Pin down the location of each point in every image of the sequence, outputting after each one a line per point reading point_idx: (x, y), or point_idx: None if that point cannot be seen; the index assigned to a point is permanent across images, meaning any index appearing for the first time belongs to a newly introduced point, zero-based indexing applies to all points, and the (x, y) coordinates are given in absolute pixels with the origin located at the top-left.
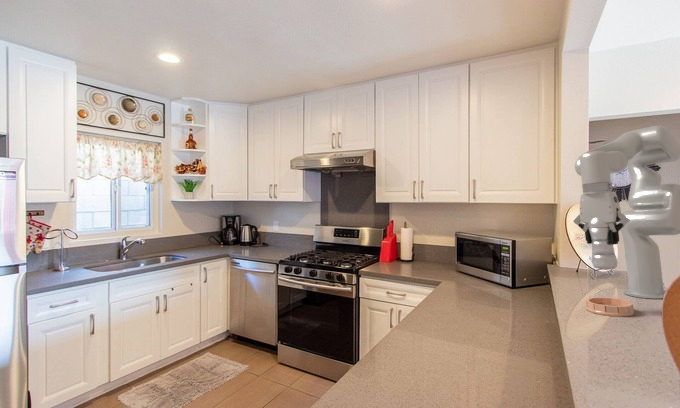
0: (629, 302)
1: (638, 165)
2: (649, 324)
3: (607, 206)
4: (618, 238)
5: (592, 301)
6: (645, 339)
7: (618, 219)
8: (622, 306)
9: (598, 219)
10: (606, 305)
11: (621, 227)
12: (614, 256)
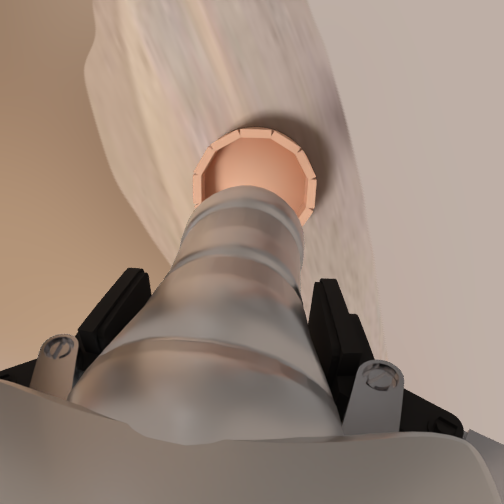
0: (301, 159)
1: None
2: (359, 243)
3: None
4: (358, 333)
5: (203, 179)
6: (366, 336)
7: (447, 457)
8: (303, 223)
9: None
10: (237, 162)
11: (423, 411)
12: (301, 266)
